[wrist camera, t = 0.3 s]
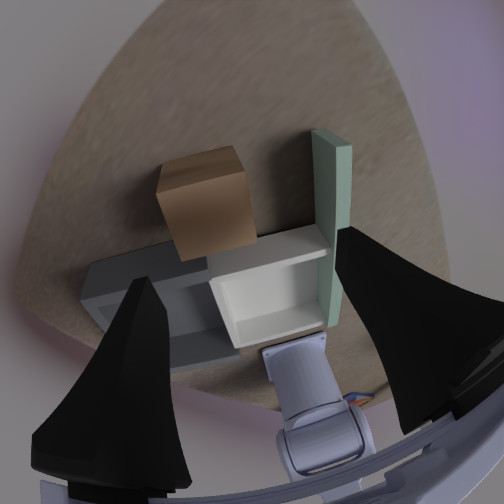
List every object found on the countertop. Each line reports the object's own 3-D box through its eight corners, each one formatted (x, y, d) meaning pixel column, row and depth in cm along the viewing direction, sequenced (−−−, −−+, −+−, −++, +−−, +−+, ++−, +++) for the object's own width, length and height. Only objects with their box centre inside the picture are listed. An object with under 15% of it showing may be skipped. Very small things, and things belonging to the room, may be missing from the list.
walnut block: (243, 204, 20) (257, 242, 16) (181, 220, 19) (181, 261, 16) (231, 145, 17) (245, 171, 13) (162, 163, 16) (155, 194, 13)
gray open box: (234, 325, 28) (241, 359, 25) (147, 344, 27) (147, 377, 24) (203, 232, 20) (208, 269, 17) (90, 263, 20) (79, 300, 17)
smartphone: (350, 389, 53) (352, 393, 52) (374, 393, 61) (376, 397, 60) (323, 404, 55) (325, 408, 55) (351, 406, 63) (352, 410, 63)
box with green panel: (324, 297, 27) (337, 324, 24) (229, 323, 27) (235, 353, 24) (325, 128, 16) (352, 145, 14) (175, 158, 16) (173, 181, 13)
